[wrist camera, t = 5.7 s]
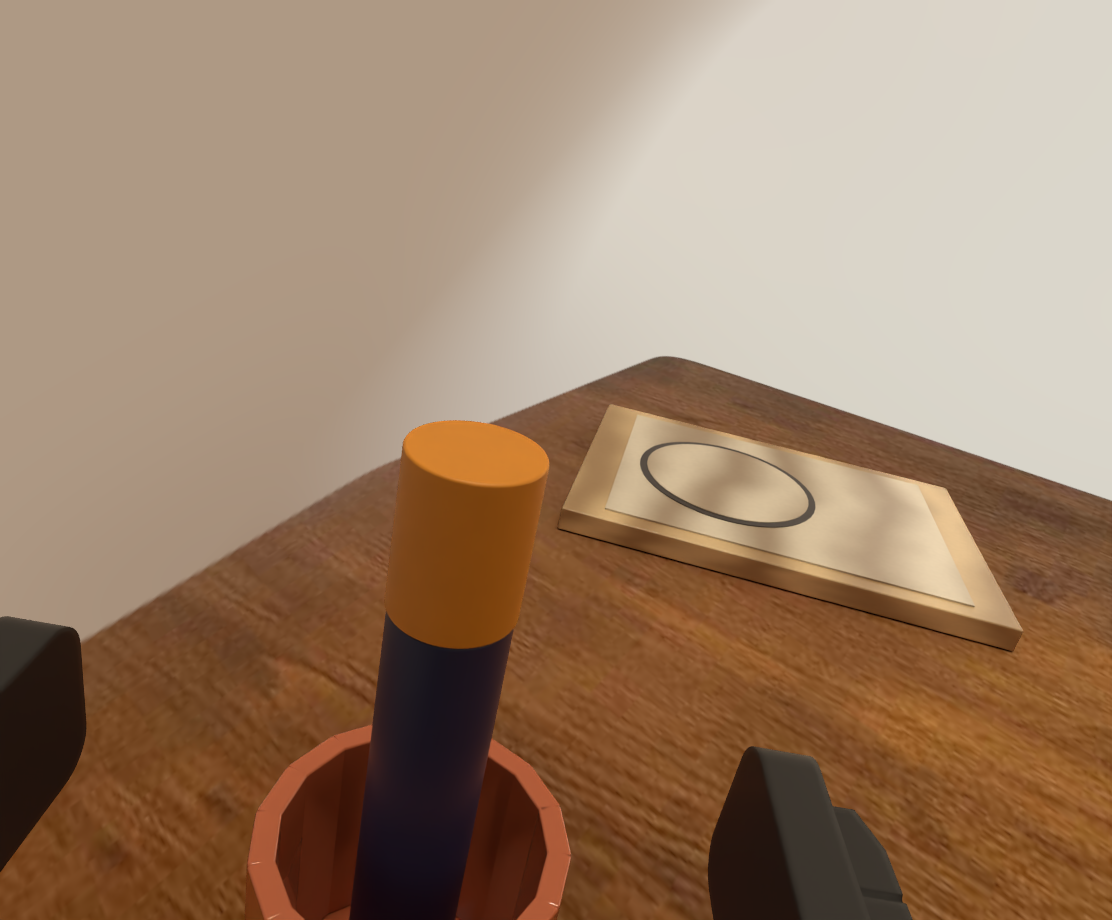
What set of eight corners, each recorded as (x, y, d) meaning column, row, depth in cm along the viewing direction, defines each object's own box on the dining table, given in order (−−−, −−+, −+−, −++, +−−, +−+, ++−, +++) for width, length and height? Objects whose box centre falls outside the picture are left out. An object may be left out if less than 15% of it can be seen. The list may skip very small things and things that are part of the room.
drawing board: (557, 528, 41) (562, 504, 40) (605, 420, 55) (610, 400, 54) (1013, 652, 38) (1026, 627, 38) (939, 504, 53) (947, 485, 52)
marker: (318, 1037, 18) (379, 459, 12) (362, 941, 20) (433, 408, 14) (418, 1073, 17) (531, 499, 12) (452, 971, 20) (563, 441, 14)
